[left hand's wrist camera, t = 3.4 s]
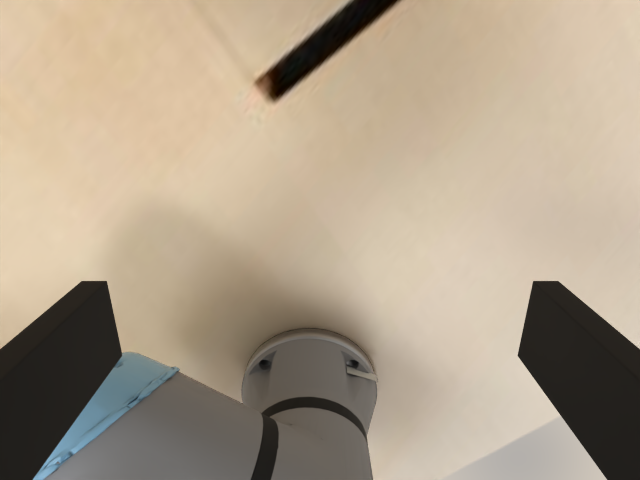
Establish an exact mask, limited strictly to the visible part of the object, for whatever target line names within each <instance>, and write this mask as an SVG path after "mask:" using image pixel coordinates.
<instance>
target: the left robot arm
mask: <svg viewBox="0 0 640 480" xmlns="http://www.w3.org/2000/svg"><path fill="white" fill-rule="evenodd" d="M518 357H519V358H520V360H521V361H522V362H523V364H524V365H525V366H526V368H527V369H528V371H529V372H530V373H531V375H532V376H533V378H534V379H535V380H536V382H537V383H538V384H539V386H540V387H541V389H542V390H543V391H544V393H545V394H546V396H547V397H548V398H549V400H550V401H551V402H552V404H553V405H554V407H555V408H556V409H557V411H558V412H559V414H560V415H561V416H562V418H563V419H564V420H565V422H566V423H567V425H568V426H569V427H570V429H571V430H572V432H573V433H574V434H575V436H576V437H577V438H578V440H579V441H580V443H581V444H582V445H583V447H584V448H585V449H586V451H587V452H588V454H589V455H590V456H591V458H592V459H593V461H594V462H595V463H596V465H597V466H598V467H599V469H600V470H601V472H602V473H603V474H604V476H605V477H606V479H607V480H640V349H639V348H637V347H636V346H635V345H634V344H633V343H631V342H630V341H629V340H628V339H627V338H626V337H624V336H623V335H622V334H621V333H620V332H618V331H617V330H616V329H615V328H614V327H612V326H611V325H610V324H609V323H608V322H606V321H605V320H604V319H603V318H602V317H600V316H599V315H598V314H597V313H596V312H594V311H593V310H592V309H591V308H590V307H588V306H587V305H586V304H585V303H584V302H582V301H581V300H580V299H579V298H578V297H576V296H575V295H574V294H573V293H572V292H571V291H569V290H568V289H567V288H566V287H565V286H563V285H562V284H561V283H560V282H559V281H533V285H532V290H531V294H530V299H529V304H528V309H527V314H526V318H525V323H524V328H523V333H522V337H521V342H520V347H519V352H518ZM179 370H180V369H179V368H177V367H169V366H166V365H164V364H162V363H159V362H157V361H155V360H152V359H150V358H148V357H145V356H143V355H141V354H138V353H133V352H124V353H122V352H121V347H120V342H119V337H118V333H117V328H116V323H115V318H114V314H113V309H112V304H111V299H110V294H109V290H108V285H107V281H81V282H80V283H79V284H78V285H77V286H75V287H74V288H73V289H72V290H71V291H69V292H68V293H67V294H66V295H65V296H64V297H62V298H61V299H60V300H59V301H58V302H56V303H55V304H54V305H53V306H52V307H50V308H49V309H48V310H47V311H46V312H44V313H43V314H42V315H41V316H40V317H38V318H37V319H36V320H35V321H34V322H32V323H31V324H30V325H29V326H28V327H26V328H25V329H24V330H23V331H22V332H20V333H19V334H18V335H17V336H16V337H14V338H13V339H12V340H11V341H10V342H9V343H7V344H6V345H5V346H4V347H3V348H1V349H0V480H373V476H372V470H371V463H370V456H369V450H368V443H367V433H368V429H369V426H370V422H371V418H372V414H373V411H374V407H375V404H376V399H377V386H376V381H378V380H377V375H375V374H374V371H373V367H372V365H371V362H370V361H369V359H368V357H367V356H366V354H365V353H364V352H363V351H362V349H360V348H359V347H358V346H357V345H356V344H355V343H354V342H352V341H351V340H349V339H348V338H346V337H344V336H342V335H339V334H337V333H334V332H331V331H327V330H322V329H310V328H309V329H297V330H292V331H288V332H284V333H281V334H279V335H277V336H275V337H273V338H271V339H269V340H268V341H266V342H265V343H264V344H262V345H261V346H260V347H259V348H258V349H257V350H256V351H255V353H254V354H253V355H252V357H251V359H250V360H249V362H248V365H247V368H246V371H245V375H244V379H243V383H242V400H243V403H240V402H238V401H236V400H234V399H232V398H230V397H228V396H226V395H224V394H222V393H220V392H218V391H216V390H214V389H212V388H210V387H208V386H206V385H204V384H202V383H200V382H198V381H196V380H194V379H192V378H190V377H188V376H186V375H184V374H182V373H180V372H178V371H179Z"/></svg>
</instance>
